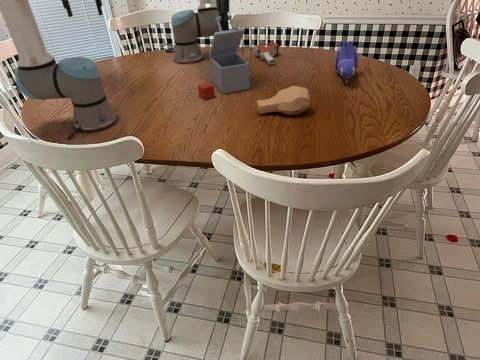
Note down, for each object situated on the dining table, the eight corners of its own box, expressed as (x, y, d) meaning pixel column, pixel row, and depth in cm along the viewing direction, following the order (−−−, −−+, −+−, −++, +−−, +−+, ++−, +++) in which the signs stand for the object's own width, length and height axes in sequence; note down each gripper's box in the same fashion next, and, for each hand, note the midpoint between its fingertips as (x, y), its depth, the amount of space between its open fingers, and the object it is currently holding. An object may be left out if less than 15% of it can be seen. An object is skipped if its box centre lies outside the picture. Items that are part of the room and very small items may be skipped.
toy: (333, 77, 168) (334, 87, 145) (335, 39, 161) (336, 43, 139) (355, 77, 166) (359, 86, 143) (358, 38, 159) (363, 42, 137)
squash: (314, 116, 128) (313, 95, 122) (259, 125, 130) (256, 105, 124) (308, 99, 136) (307, 78, 129) (257, 108, 138) (253, 88, 131)
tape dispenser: (271, 69, 174) (289, 54, 187) (272, 58, 171) (290, 44, 183) (241, 62, 182) (260, 49, 194) (241, 52, 178) (260, 39, 191)
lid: (245, 30, 141) (239, 10, 142) (215, 34, 138) (209, 14, 139) (236, 52, 158) (230, 34, 159) (209, 56, 155) (204, 38, 156)
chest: (250, 88, 152) (249, 63, 146) (222, 93, 149) (220, 68, 143) (237, 76, 165) (236, 52, 159) (211, 81, 162) (209, 57, 156)
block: (214, 96, 147) (213, 85, 144) (204, 100, 145) (203, 88, 142) (209, 93, 150) (207, 82, 148) (199, 96, 148) (197, 85, 146)
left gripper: (102, -44, 147) (116, 12, 160) (44, -40, 148) (61, 15, 160) (96, -42, 141) (111, 15, 153) (35, -38, 142) (54, 19, 154)
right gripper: (235, -37, 127) (239, 32, 141) (223, -40, 139) (227, 25, 153) (215, -35, 126) (221, 34, 139) (204, -38, 137) (210, 27, 151)
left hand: (85, 15), depth 157 cm, fingers open, 13 cm apart
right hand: (224, 29), depth 146 cm, fingers closed on lid, 2 cm apart
